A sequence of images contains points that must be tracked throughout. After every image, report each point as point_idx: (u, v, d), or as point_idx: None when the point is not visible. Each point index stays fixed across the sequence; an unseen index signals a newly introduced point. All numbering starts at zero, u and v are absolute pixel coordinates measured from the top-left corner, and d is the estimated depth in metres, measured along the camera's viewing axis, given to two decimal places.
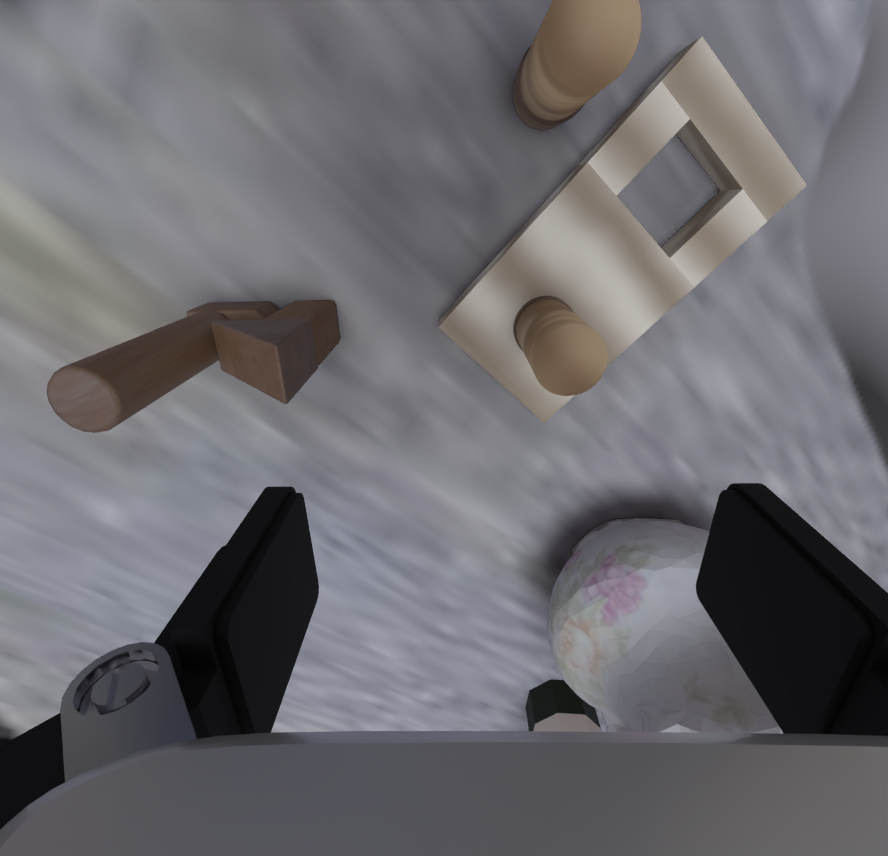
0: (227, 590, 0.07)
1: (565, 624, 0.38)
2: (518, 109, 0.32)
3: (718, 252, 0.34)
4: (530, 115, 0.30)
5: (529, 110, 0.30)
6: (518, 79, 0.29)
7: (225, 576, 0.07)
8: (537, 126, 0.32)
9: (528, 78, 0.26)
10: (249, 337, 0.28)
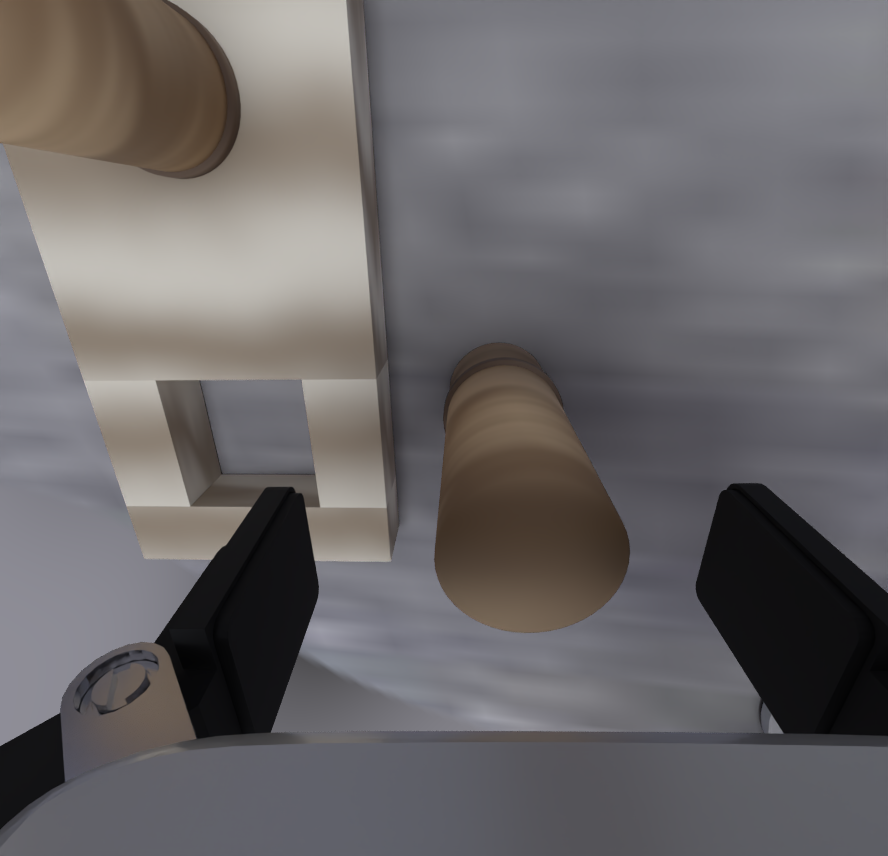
0: (227, 591, 0.07)
1: None
2: (514, 349, 0.20)
3: (119, 438, 0.20)
4: (498, 360, 0.18)
5: (505, 364, 0.17)
6: (549, 381, 0.18)
7: (225, 576, 0.07)
8: (475, 354, 0.20)
9: (549, 403, 0.15)
10: None
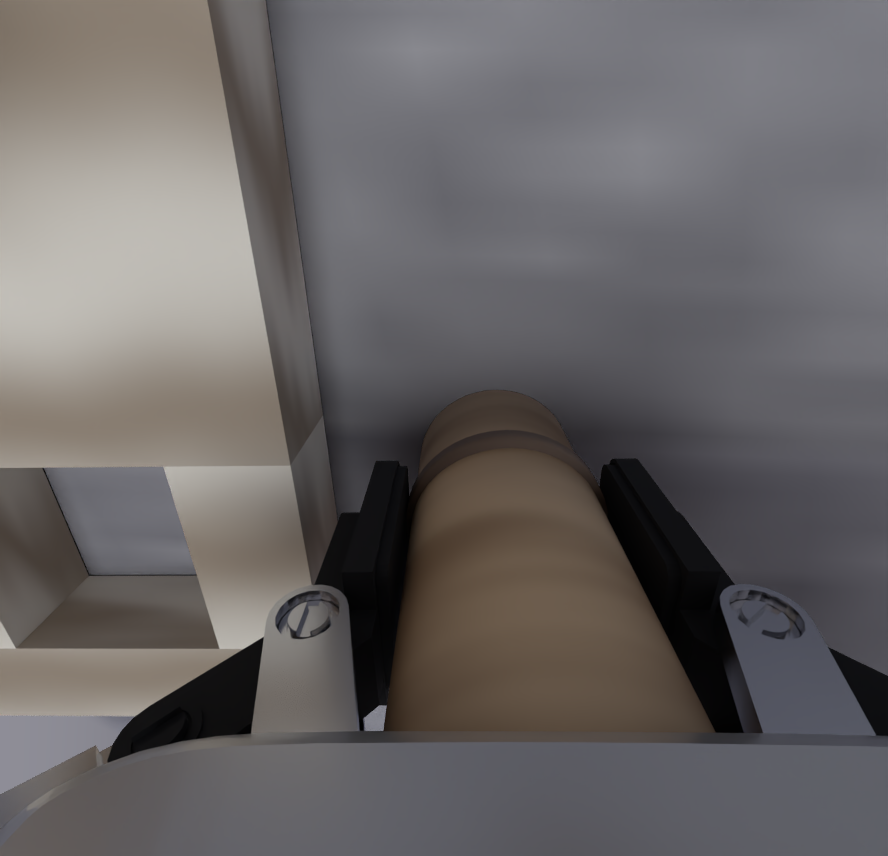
0: (379, 543, 0.08)
1: None
2: (521, 404, 0.12)
3: None
4: (497, 439, 0.10)
5: (509, 447, 0.10)
6: (585, 472, 0.10)
7: (372, 532, 0.08)
8: (458, 411, 0.13)
9: (606, 563, 0.07)
10: None
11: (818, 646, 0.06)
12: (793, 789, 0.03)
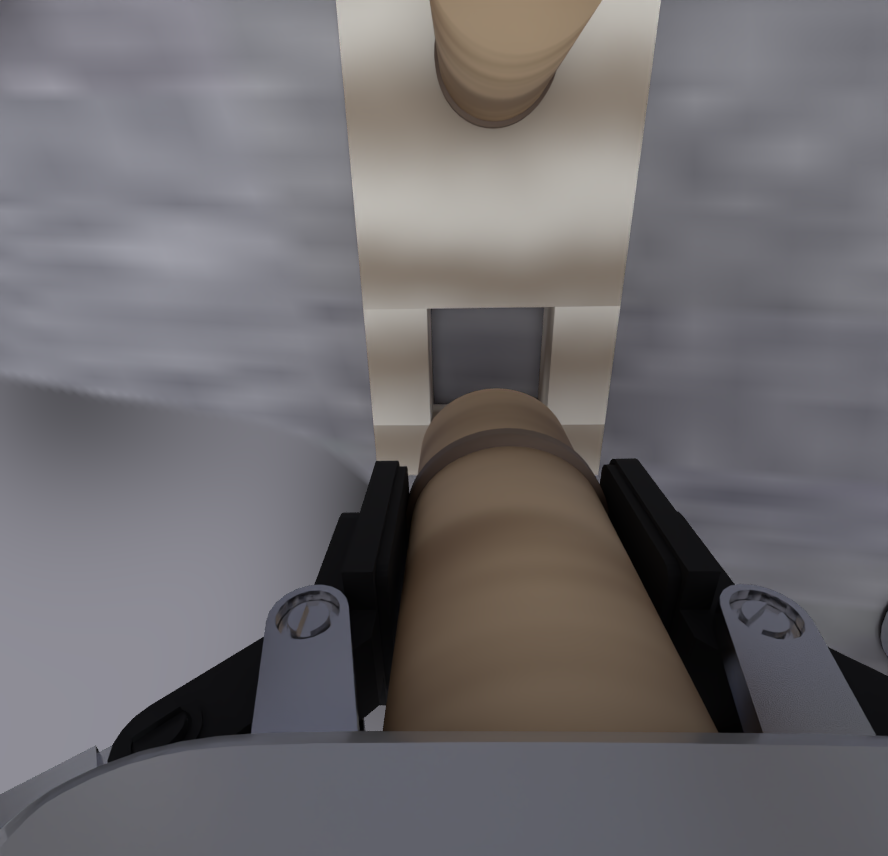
0: (379, 543, 0.08)
1: None
2: (521, 402, 0.12)
3: (382, 362, 0.23)
4: (497, 437, 0.10)
5: (509, 446, 0.10)
6: (586, 471, 0.10)
7: (372, 532, 0.08)
8: (458, 410, 0.12)
9: (607, 561, 0.07)
10: None
11: (818, 646, 0.06)
12: (793, 789, 0.03)
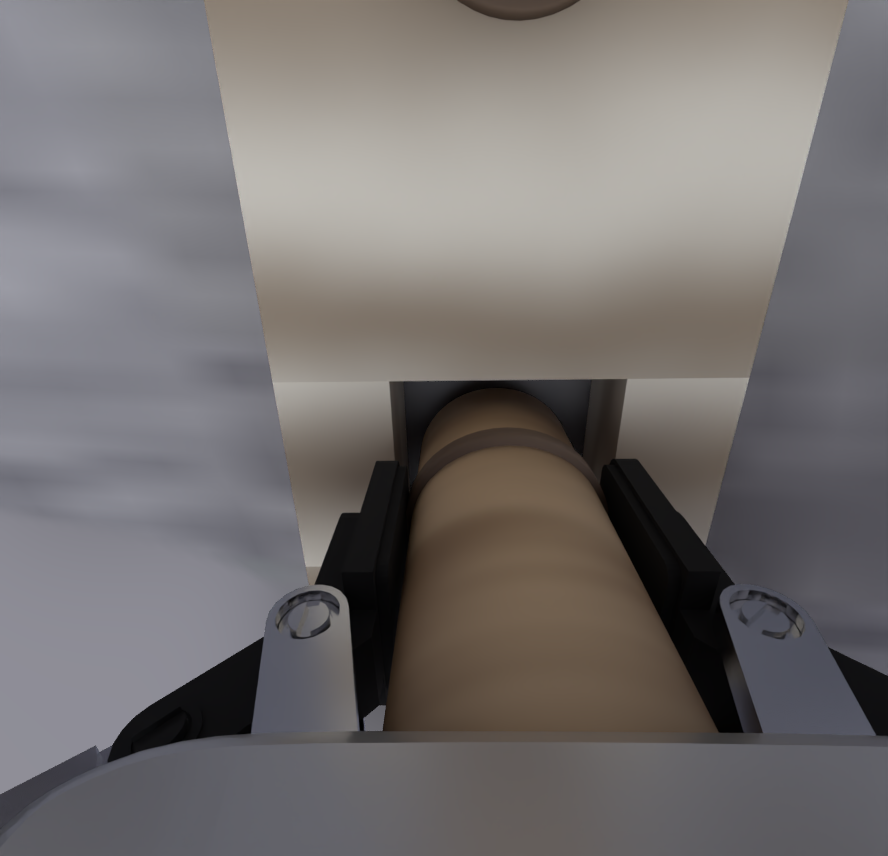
0: (379, 543, 0.08)
1: None
2: (521, 402, 0.12)
3: (313, 469, 0.13)
4: (497, 436, 0.10)
5: (509, 445, 0.10)
6: (585, 470, 0.10)
7: (372, 532, 0.08)
8: (458, 409, 0.12)
9: (607, 560, 0.07)
10: None
11: (818, 646, 0.06)
12: (793, 789, 0.03)
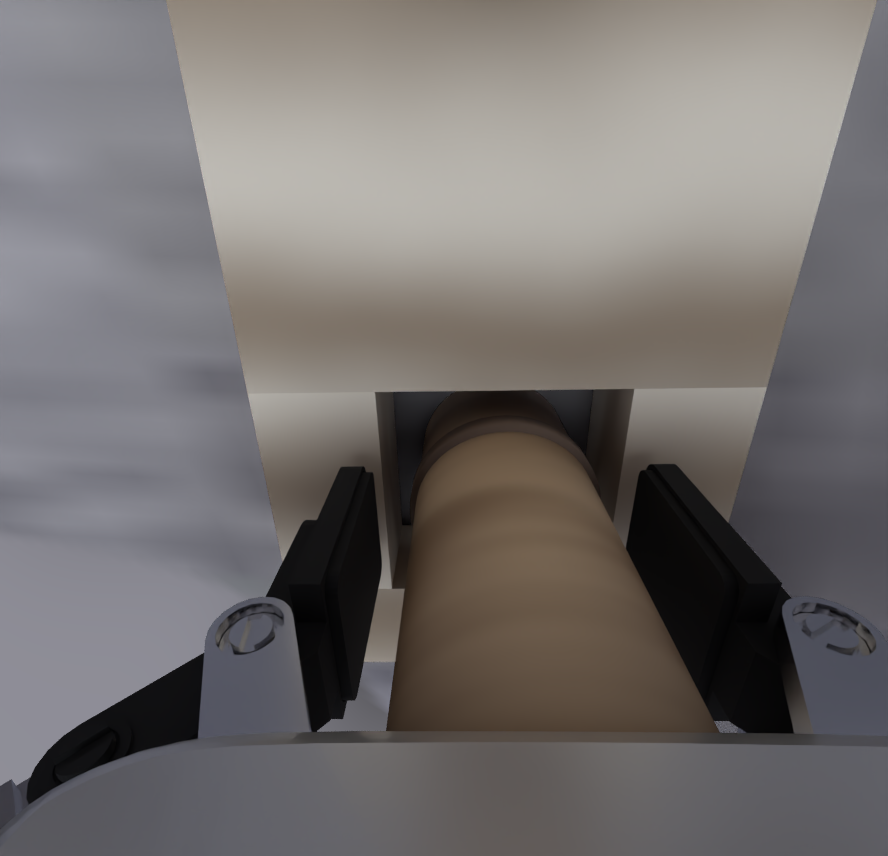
0: (331, 553, 0.08)
1: None
2: (519, 393, 0.13)
3: (294, 487, 0.12)
4: (496, 423, 0.11)
5: (508, 431, 0.11)
6: (579, 455, 0.11)
7: (326, 541, 0.08)
8: (459, 400, 0.13)
9: (595, 531, 0.08)
10: None
11: None
12: (793, 789, 0.03)
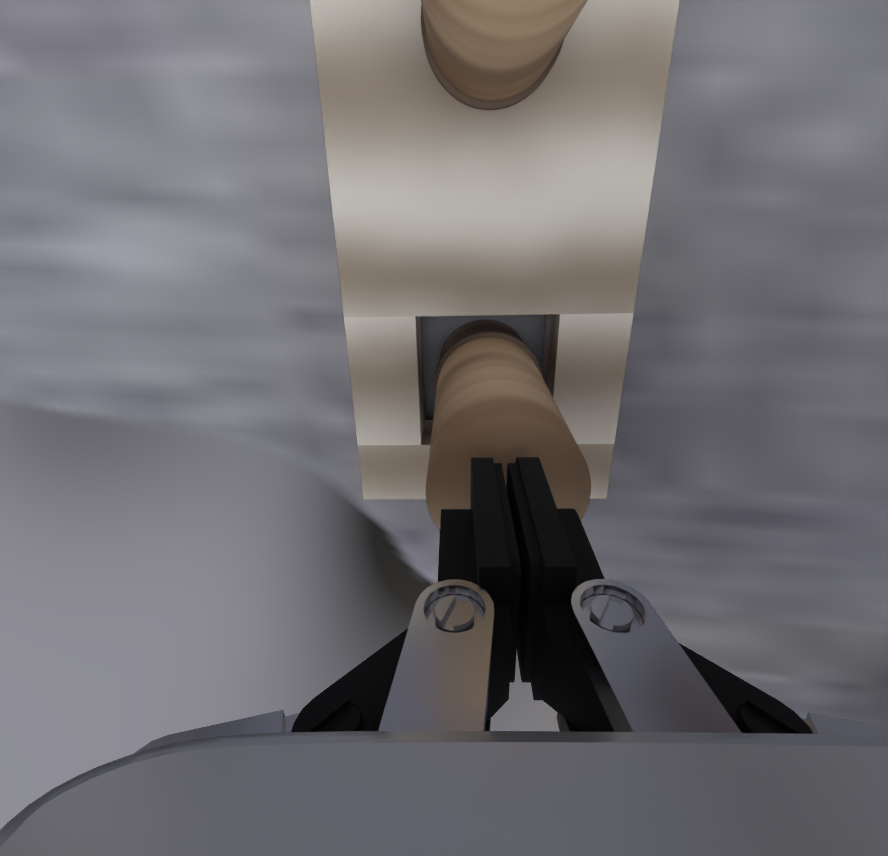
0: (505, 539, 0.08)
1: None
2: (499, 324, 0.22)
3: (366, 375, 0.21)
4: (483, 333, 0.19)
5: (489, 336, 0.19)
6: (529, 351, 0.19)
7: (494, 527, 0.08)
8: (462, 329, 0.22)
9: (527, 367, 0.16)
10: None
11: (660, 628, 0.07)
12: (793, 789, 0.03)
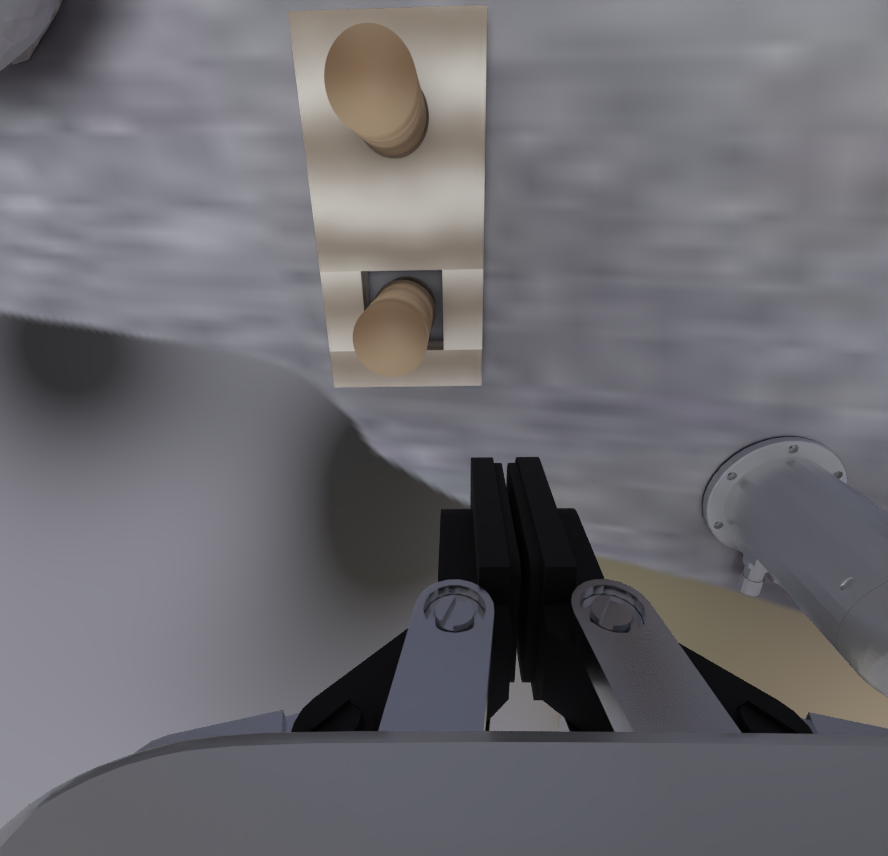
0: (505, 539, 0.08)
1: None
2: (413, 278, 0.37)
3: (333, 307, 0.36)
4: (398, 280, 0.34)
5: (401, 282, 0.34)
6: (425, 291, 0.34)
7: (494, 527, 0.08)
8: None
9: (414, 293, 0.31)
10: None
11: (660, 628, 0.07)
12: (793, 789, 0.03)
